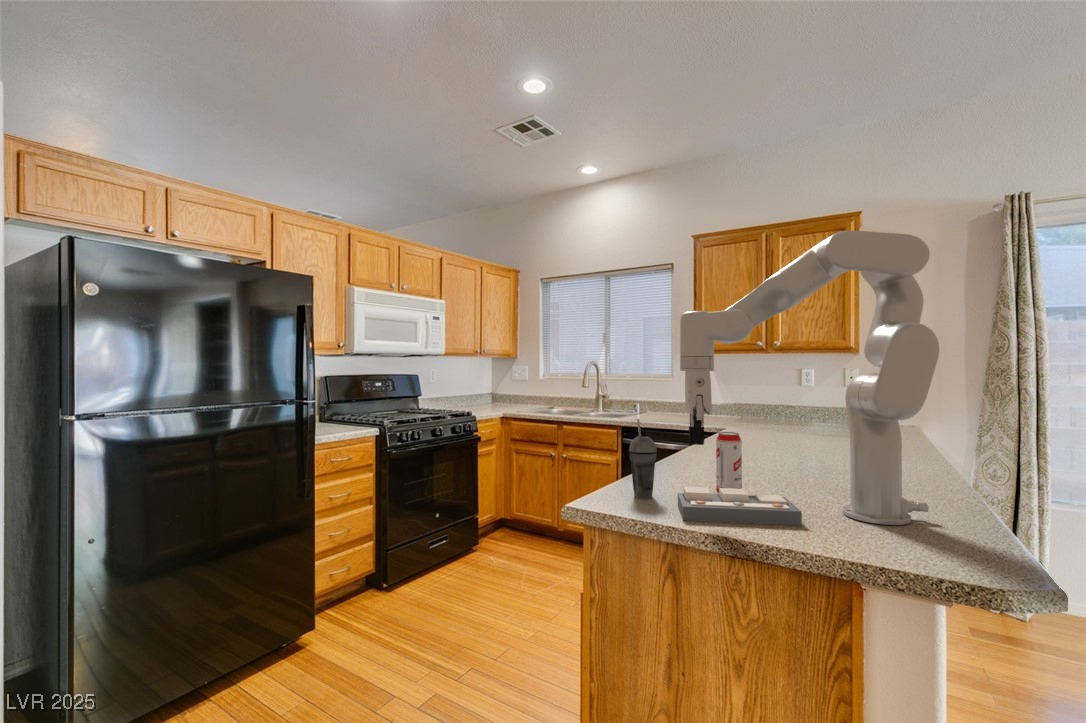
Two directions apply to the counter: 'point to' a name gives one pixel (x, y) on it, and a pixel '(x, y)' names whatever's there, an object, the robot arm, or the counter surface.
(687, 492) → the key
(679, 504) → the button board
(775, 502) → the key
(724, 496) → the middle key
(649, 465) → the beverage cup
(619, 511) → the counter surface
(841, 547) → the counter surface
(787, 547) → the counter surface
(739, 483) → the beer can
